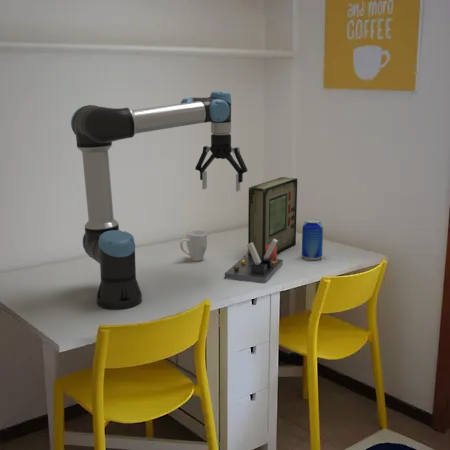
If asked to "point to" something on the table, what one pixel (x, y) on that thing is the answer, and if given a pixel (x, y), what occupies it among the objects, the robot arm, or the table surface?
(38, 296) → the table surface
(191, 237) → the mug
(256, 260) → the breaker
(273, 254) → the red rounded cylinder
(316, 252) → the beer can
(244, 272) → the panel
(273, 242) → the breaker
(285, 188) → the control panel
